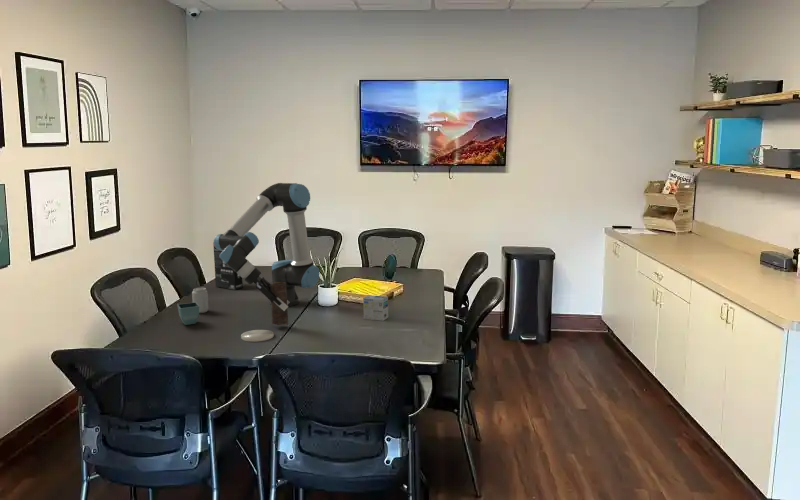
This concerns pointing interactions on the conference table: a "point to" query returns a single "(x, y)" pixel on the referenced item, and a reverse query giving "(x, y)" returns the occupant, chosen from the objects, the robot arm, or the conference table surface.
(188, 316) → the flower pot
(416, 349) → the conference table surface
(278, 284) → the candle
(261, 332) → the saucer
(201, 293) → the can
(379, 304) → the light bulb box
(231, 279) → the graphics card box
